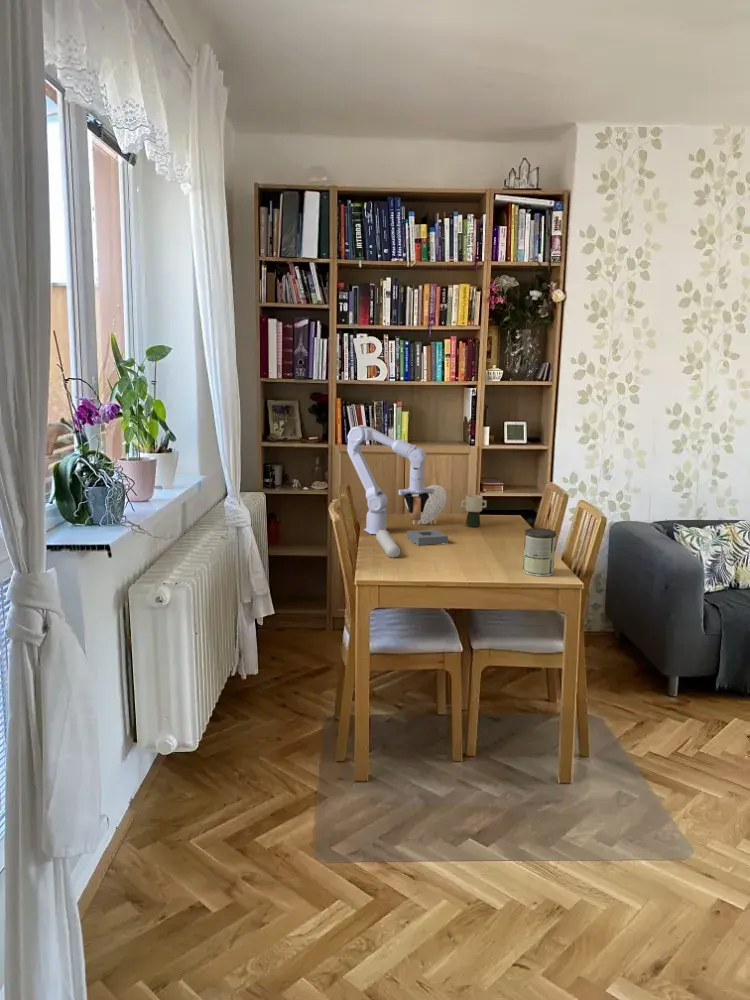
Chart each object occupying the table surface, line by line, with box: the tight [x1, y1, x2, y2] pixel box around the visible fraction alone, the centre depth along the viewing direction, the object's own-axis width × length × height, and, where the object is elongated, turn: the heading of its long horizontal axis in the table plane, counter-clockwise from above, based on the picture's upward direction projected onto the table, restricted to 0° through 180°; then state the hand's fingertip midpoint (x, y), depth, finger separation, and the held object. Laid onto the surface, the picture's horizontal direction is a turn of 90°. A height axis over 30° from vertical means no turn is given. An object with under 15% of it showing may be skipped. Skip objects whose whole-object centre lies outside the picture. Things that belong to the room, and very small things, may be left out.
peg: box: [410, 495, 422, 521], centre depth 306 cm, size 4×4×9 cm
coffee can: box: [522, 527, 557, 577], centre depth 256 cm, size 10×10×14 cm
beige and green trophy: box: [460, 494, 488, 527], centre depth 327 cm, size 11×7×13 cm, turn 96°
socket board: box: [406, 529, 449, 546], centre depth 299 cm, size 12×12×3 cm
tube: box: [375, 529, 401, 559], centre depth 283 cm, size 5×5×25 cm
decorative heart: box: [404, 484, 448, 525], centre depth 328 cm, size 18×11×17 cm, turn 95°
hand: (415, 512), depth 306 cm, fingers closed on peg, 4 cm apart
